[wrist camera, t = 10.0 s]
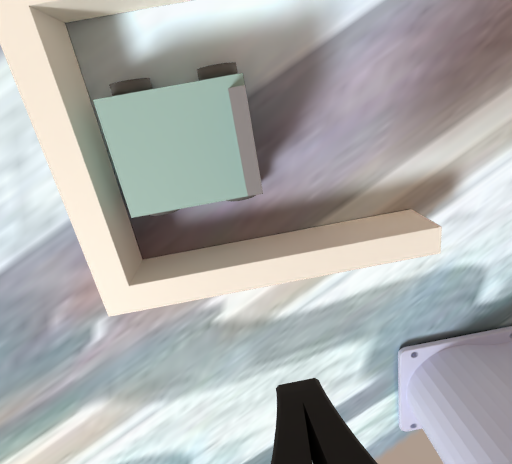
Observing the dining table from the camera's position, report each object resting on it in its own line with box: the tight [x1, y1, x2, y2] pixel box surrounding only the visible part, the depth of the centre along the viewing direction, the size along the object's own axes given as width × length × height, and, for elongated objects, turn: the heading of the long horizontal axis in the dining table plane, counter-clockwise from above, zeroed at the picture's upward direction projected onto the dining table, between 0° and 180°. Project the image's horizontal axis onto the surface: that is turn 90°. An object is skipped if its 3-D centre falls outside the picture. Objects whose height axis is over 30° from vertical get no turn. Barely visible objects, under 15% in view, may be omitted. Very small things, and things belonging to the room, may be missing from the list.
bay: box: [0, 0, 442, 316], centre depth 16 cm, size 18×15×3 cm
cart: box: [93, 62, 263, 218], centre depth 15 cm, size 6×6×5 cm
